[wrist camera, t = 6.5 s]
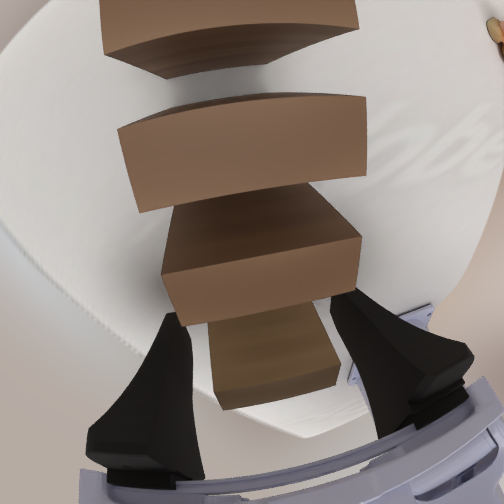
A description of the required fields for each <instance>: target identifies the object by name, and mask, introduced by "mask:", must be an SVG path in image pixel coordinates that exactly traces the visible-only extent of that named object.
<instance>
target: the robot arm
mask: <svg viewBox="0 0 504 504" xmlns="http://www.w3.org/2000/svg"><path fill="white" fill-rule="evenodd" d="M433 311H434V306H433V305H432V304H431V305H428V306H425V307H423V308H420V309H418V310H415V311H412V312H410V313H407V314H404V315H402V316H399V317H398V316H396V315H394V314H393V313H391V312H390V311H388V310H386V309H385V308H383V307H382V306H381V305H379V304H378V303H376V302H375V301H373V300H372V299H371V298H369V297H368V296H367V295H365V294H364V293H363V292H361V291H360V290H359V289H358V288H356V287H355V290H354V291H350V292H346V293H342V294H338V295H334V296H331V305H330V313H331V316H332V319H333V321H334V324H335V327H336V329H337V331H338V333H339V335H340V337H341V339H342V341H343V342H344V344H345V346H346V348H347V350H348V352H349V354H350V356H351V357H352V359H353V361H354V363H353V367H352V370H351V373H350V376H349V379H348V385H349V386H351V385H354V384H358V386H359V389H360V391H361V393H362V395H363V397H364V400H365V402H366V404H367V406H368V409H369V411H370V413H371V415H372V417H373V420H374V422H375V426H376V431H377V435H378V440H376V441H374V442H371V443H369V444H366V445H364V446H361V447H359V448H356V449H353V450H350V451H347V452H345V453H342V454H339V455H336V456H332V457H329V458H326V459H323V460H319V461H316V462H312V463H308V464H305V465H301V466H297V467H293V468H288V469H283V470H279V471H274V472H268V473H263V474H257V475H250V476H243V477H236V478H226V479H215V480H204V479H205V474H204V470H203V466H202V462H201V457H200V452H199V447H198V442H197V435H196V428H195V421H194V413H193V403H192V402H193V400H192V395H193V352H192V342H191V338H190V336H189V333H188V331H187V328H186V326H183V327H182V326H181V324H180V321H179V319H178V316H177V314H176V312H172V313H167V314H166V315H165V318H164V320H163V322H162V325H161V327H160V329H159V331H158V334H157V336H156V338H155V340H154V342H153V344H152V346H151V348H150V350H149V352H148V354H147V356H146V358H145V359H144V361H143V363H142V365H141V367H140V368H139V370H138V372H137V373H136V375H135V377H134V378H133V379H132V381H131V382H130V384H129V385H128V387H127V388H126V389H125V391H124V392H123V393H122V395H121V396H120V397H119V398H118V399H117V401H116V402H115V403H114V404H113V405H112V406H111V407H110V408H109V410H108V411H107V412H106V413H105V414H104V415H103V416H102V417H101V418H100V419H98V420H97V421H96V422H95V423H94V424H93V425H92V426H91V427H90V428H89V430H88V434H87V443H86V456H87V457H88V458H89V459H91V460H92V461H94V462H96V463H98V464H100V465H102V466H104V467H106V468H107V474H106V473H103V472H98V471H93V470H87V469H80V480H79V504H504V494H503V492H502V489H501V488H500V485H499V483H498V482H499V481H500V479H501V477H502V476H503V474H504V419H503V417H502V414H503V413H504V407H503V405H502V404H501V402H500V400H499V399H498V397H497V395H496V394H495V392H494V390H493V389H492V387H491V385H490V384H489V382H488V381H487V379H486V378H485V376H482V377H481V378H480V379H478V380H477V381H475V382H474V383H473V384H471V385H470V386H469V387H467V388H466V387H465V385H464V384H465V381H464V380H463V378H462V377H463V375H464V374H465V373H466V372H467V370H468V369H469V368H470V366H471V365H472V363H473V361H474V355H473V354H472V352H471V351H470V349H469V348H468V347H467V345H466V344H465V343H462V342H459V341H455V340H451V339H447V338H444V337H441V336H438V335H435V334H433V333H430V332H428V330H427V329H426V327H427V325H428V322H429V320H430V318H431V315H432V313H433ZM386 452H387V453H386ZM384 453H385V454H384ZM381 454H383V455H382V456H379V455H381ZM376 456H379V457H378V458H375V459H373V460H371V461H370V462H369V464H368V465H367V466H366V467H364V468H362V469H361V470H360V472H359V473H356V474H353V475H350V476H347V477H344V478H341V479H338V480H335V481H331V482H328V483H324V484H321V485H318V486H314V487H310V488H306V489H302V490H299V491H294V492H290V493H286V494H281V495H277V496H272V497H268V498H262V499H257V500H250V501H249V499H248V498H241V496H240V495H226V496H225V495H222V496H208V495H220V494H231V493H241V492H249V491H256V490H262V489H268V488H274V487H278V486H284V485H288V484H293V483H297V482H301V481H305V480H309V479H313V478H317V477H320V476H324V475H327V474H330V473H333V472H336V471H339V470H342V469H345V468H348V467H351V466H354V465H356V464H359V463H362V462H364V461H367V460H369V459H372V458H374V457H376Z"/></svg>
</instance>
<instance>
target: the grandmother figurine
mask: <svg viewBox="0 0 504 504" xmlns="http://www.w3.org/2000/svg"><path fill="white" fill-rule="evenodd" d="M487 28H488V31H489V33H490V35H491V37H492V39H493V40H494V41H495V42H496V43H499V42H503V43H502V53H503V56H504V21H501V22H500V21H499V20H498V19H496V18H492V19H490V20H488V22H487Z"/></svg>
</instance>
